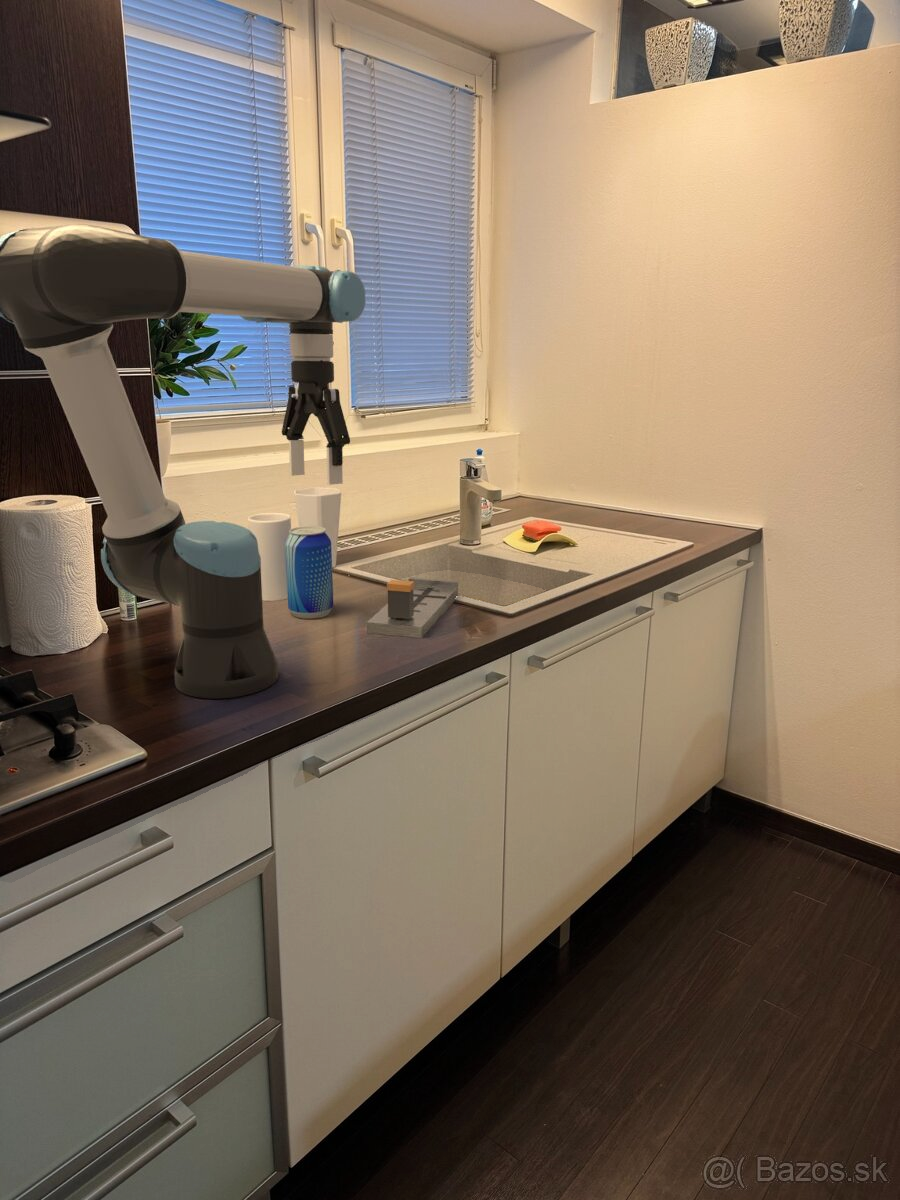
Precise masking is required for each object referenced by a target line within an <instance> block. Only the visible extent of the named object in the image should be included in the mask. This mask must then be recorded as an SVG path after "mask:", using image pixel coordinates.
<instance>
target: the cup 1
mask: <svg viewBox="0 0 900 1200" xmlns="http://www.w3.org/2000/svg"><path fill="white" fill-rule="evenodd" d="M291 520H292V519H291V515H290V514H287V513H280V512H263V513H256V514H255V513H254V514H251V515H249V516H248V517H247V524H248V527H247V529H248V530H250V531H251V532H252V533H253V534H254V535H255V537H256V539H257V542H258V550H259V555H260V557H261V585H262V602H263V601H265V602H273V601H274V602H277V601H278V602H279V601H284V600H288V594H287V574H286V555H285V541H286V540H287V538H288V536H289V534H290V532H289V531H290V529H292V521H291Z"/></svg>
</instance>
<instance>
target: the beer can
mask: <svg viewBox="0 0 900 1200" xmlns="http://www.w3.org/2000/svg"><path fill="white" fill-rule="evenodd" d="M325 531H326V529H325V528H322V527H316V526H303V527H299V526H297V527H291V529H290V531H289V532H290V534H289V536H288V538H287V540H286V541H285V555H286V574H287V594H288V599H287V608H288V610H289V611H290V612H291V613H292V616H293V617H295V618H298V619H304V620H305V619H308V620H309V619H311V620H312V619H319V618H320V619H321V618H324V617H326V616H328V615H329V614H330V613H331V610H332V609H333V608H334V584H333V568H332V550H331V540H330V538H329V537H328V535H327V534H326V532H325Z"/></svg>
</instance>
